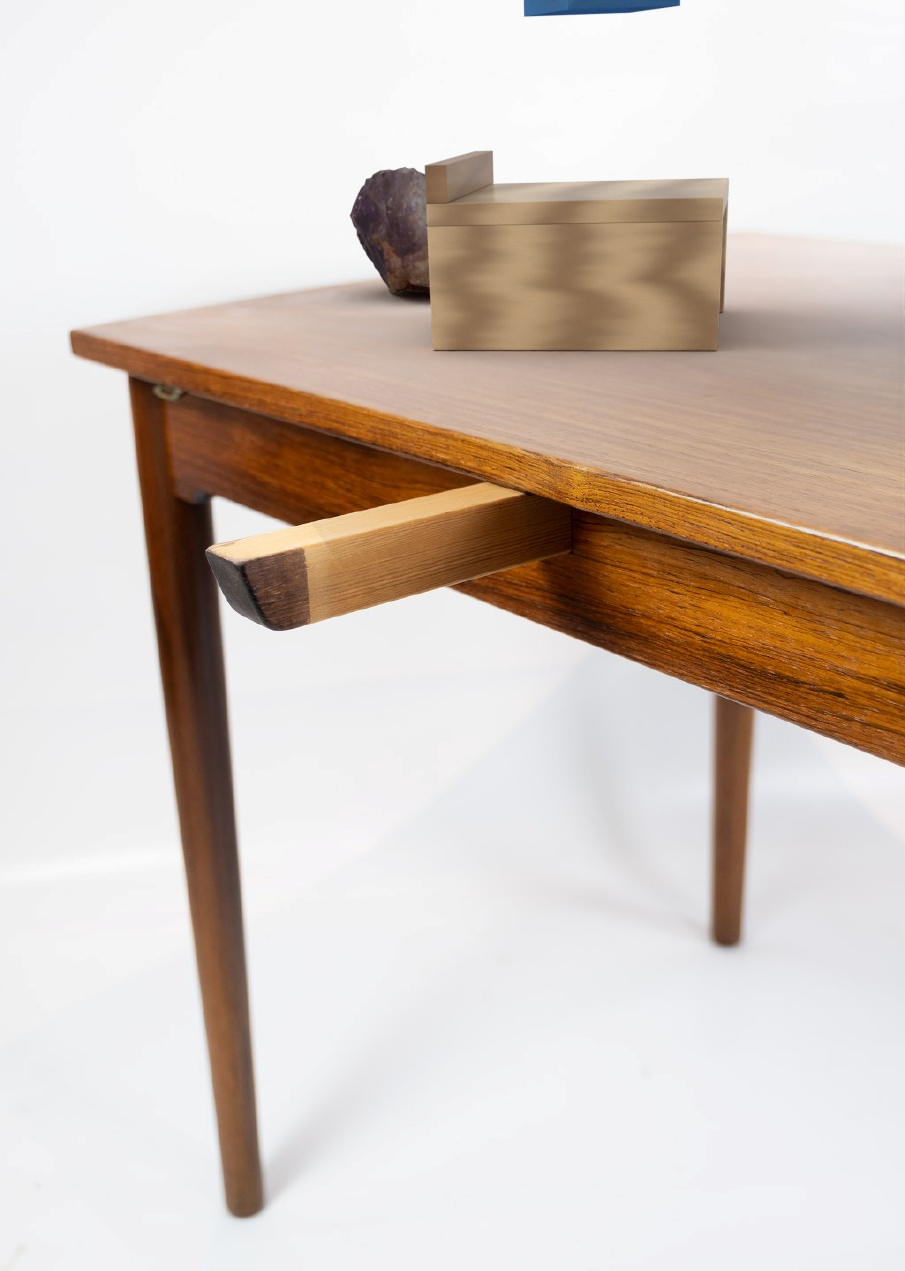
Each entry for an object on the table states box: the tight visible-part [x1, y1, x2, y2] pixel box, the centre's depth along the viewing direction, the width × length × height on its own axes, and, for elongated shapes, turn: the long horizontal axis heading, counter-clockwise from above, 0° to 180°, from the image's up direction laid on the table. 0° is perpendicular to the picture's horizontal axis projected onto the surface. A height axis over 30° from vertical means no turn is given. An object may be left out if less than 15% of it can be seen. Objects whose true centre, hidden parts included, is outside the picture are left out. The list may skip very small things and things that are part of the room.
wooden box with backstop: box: [424, 150, 730, 352], centre depth 79 cm, size 16×14×10 cm
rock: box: [349, 166, 430, 295], centre depth 96 cm, size 12×9×10 cm
